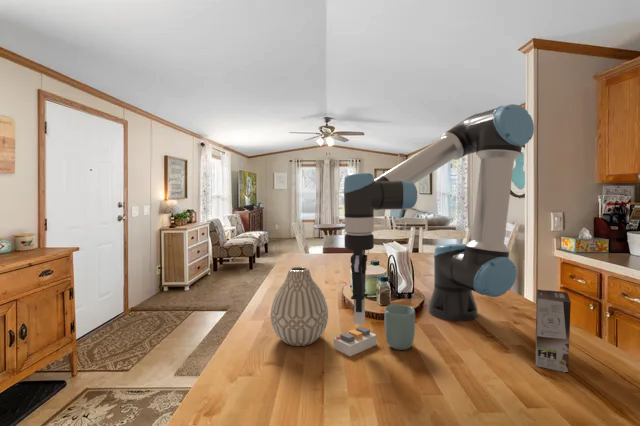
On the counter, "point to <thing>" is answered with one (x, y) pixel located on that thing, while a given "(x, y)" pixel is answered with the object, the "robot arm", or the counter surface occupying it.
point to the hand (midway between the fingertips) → (359, 322)
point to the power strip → (355, 341)
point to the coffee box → (552, 330)
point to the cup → (399, 326)
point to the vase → (299, 309)
